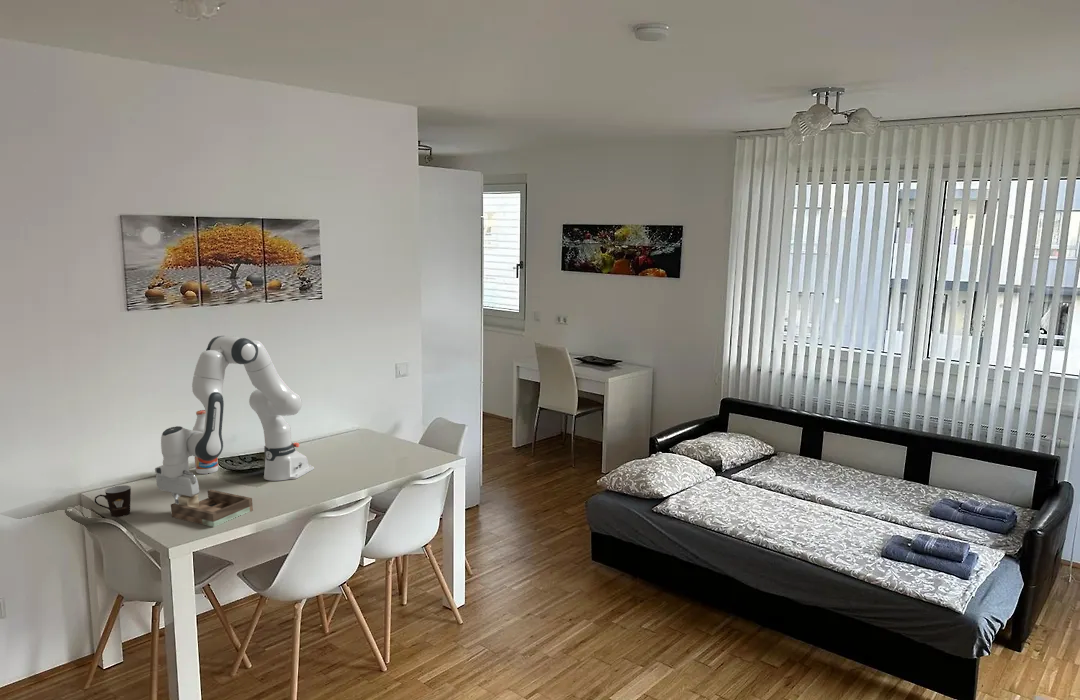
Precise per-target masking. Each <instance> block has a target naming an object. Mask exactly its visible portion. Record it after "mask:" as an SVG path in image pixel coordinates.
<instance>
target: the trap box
mask: <svg viewBox="0 0 1080 700" xmlns="http://www.w3.org/2000/svg"><path fill="white" fill-rule="evenodd" d="M253 505H254V504H253V498H252V497H249V496H244V495H239V494H233V493H228V492H224V491H220V490H214V489H208V490H207V498H205V499H202V500H199V508H193V507H189V506H184V505H180V504H177V503H175V502H174V503H171V504H170V508H171V509H170V510H171V517H172V518H175V519H177V520H183V521H186V522H190V523H196V524H200V525H204V526H208V527H211V528H212V527H213V528H215V527H217V525H218V526H220V525H222V524H225V523H227V522H229V521H231V519H232V520H234V519H236V518H239V517H241V516H243V515H246V514H248V513H251V512H252V511H254V507H253ZM245 513H246V514H245ZM240 515H241V516H240ZM238 516H239V517H238ZM235 517H236V518H235ZM233 518H234V519H233ZM228 520H229V521H228ZM226 521H227V522H226ZM224 522H225V523H224Z"/></svg>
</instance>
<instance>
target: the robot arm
mask: <svg viewBox="0 0 1080 700" xmlns="http://www.w3.org/2000/svg"><path fill="white" fill-rule="evenodd" d="M229 364H235V365H238V364H239V365H243V367H244V369H245V371H246V373H247V376H248V378H249V380H250V382H251V384H252V385H253V387H254V388H255V390H253V392H252V393H251V394H250V395H249V399H248V403H249V406H250V408H251V409H252V410H253V411H254V412H255V414H256V415H257V416H258V419H259V421H260V423H261V426H262V430H263V436H264V437H263V438H264V446H263V447H264V448H263V449H264V452H263V453H264V456H265V459H264V460H265V462H264V473H263V474H264V475H263V480H267V481H272V482H274V481H276V482H277V481H285V480H296V479H298V478H300V477H302V476H304V475H306V474H307V473H310V472H311V471H313V470H315V467H314V466H313V465H312V464H310V463H309V461H308V457H307V456H306V455H304V453H301V452H299V451H298V450H297V449H296V448H299V447H300V443H299V442H294V443H293V442H292V431H291V425H290V424H289V423H288V422H287V421H286V419H285V418H284V417H288V416H295V415H296V414H298V413H300V410H301V408H302V405H303V404H302V403H303V401H302V399H301V396H300V395H299V394H298V393H296V392H295V391H293V390H292V389H291V388H290V387H289V386H288V384H286V382H285V381H284V380H283V379H282V377H281V376H280V375H279V372H278V370H277V368H276V366H275V365H274V362H273V360H272V358H271V356H270V354H269V352H268V350H267V349H266V346H264V344H263V343H262V342H261V341H259V340H257V339H248V338H245V337H240V336H236V335H235V336H234V335H233V336H228V335H227V336H226V335H218V336H215V337H213V338H212V339H211V340H210V341H209V342H208V345H207V347H206V350H204V351H203V352H201V354H200V355H199V357H198V360H197V363H196V365H195V369H194V373H193V377H192V383H191V387H192V391H191V392H192V394H193V395H194V397H195V398H197V399H198V400H199V401H200V403H201V404H202V406H203V408H204V410H205V411H206V416H205V427H204V432H200V431H194V430H193V429H187V428H184V427H183V426H178V425H177V426H176V425H175V426H171V427H168V428H166V429H165V430H164V431H163V432H162V433H161V437H160V449H161V455H162V457H163V459H162V465H160V466H157V467H155V468H154V473H155V474H156V475H155V480H156V487H157V488H158V490H160V491H163V492H168V493H171V495H172V498H173V499H174V503H176V504H179V501H178V497H180V496H182V495H186V496H190V497H192V496H195V495H198V496H199V493H200V486H199V481H198V478H197V476H196V475H195V474H194V472H192V471H190V465H189V464H190V463H189V457H194V458H195V457H198V458H200V459H202V460H205V461H211V460H214V459H216V458H217V457H220V455H221V454H222V453H223V449H224V441H223V435H222V431H223V419H224V405H225V404H224V397H223V387H224V381H225V380H224V379H225V375H226V369H227V367H228V365H229Z"/></svg>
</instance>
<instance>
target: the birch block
mask: <svg viewBox="0 0 1080 700" xmlns="http://www.w3.org/2000/svg"><path fill="white" fill-rule="evenodd" d="M199 499H200V498H199V494H198V495H195V496H192V497H190V496H186V495H182V496H180V497H178V501H179V504H180V505H184V506H189V507H193V508H199V501H200V500H199Z"/></svg>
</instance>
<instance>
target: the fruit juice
mask: <svg viewBox="0 0 1080 700" xmlns="http://www.w3.org/2000/svg"><path fill="white" fill-rule="evenodd" d="M195 414H196V415H195V416H196V419H195V420H196V421H195V424H194V426H192V427H193V428H192V430H194V431H200V432H204V427H205V416H206V411H205V409H201V410H197V411H195ZM218 457H219V456H218ZM218 457H217V458H216V459H214V460H211V461H205V460H202V459H200V458H198V457H195V456H194V464H195V465H194V466H195V472H196V473H197V474H199V475H208V473H209V474H213V473H216V472H217V471H218V470H219V461H218V459H219V458H218Z"/></svg>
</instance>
